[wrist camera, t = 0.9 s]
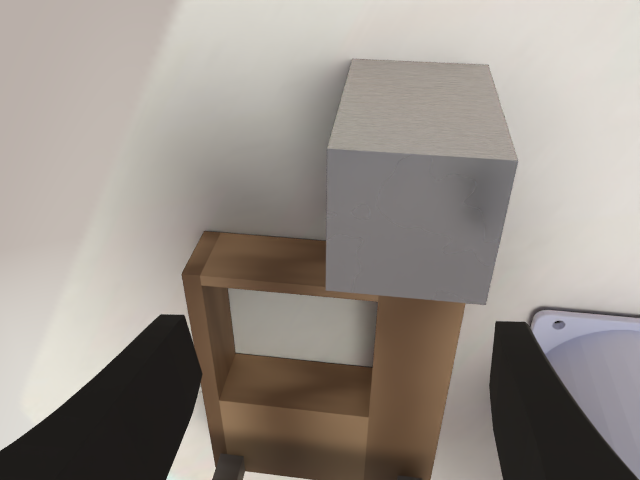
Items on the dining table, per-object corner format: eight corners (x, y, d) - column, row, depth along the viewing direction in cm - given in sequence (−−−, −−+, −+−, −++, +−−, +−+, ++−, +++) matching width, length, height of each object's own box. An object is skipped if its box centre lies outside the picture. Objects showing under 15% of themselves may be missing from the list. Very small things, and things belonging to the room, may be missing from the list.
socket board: (460, 252, 24) (474, 377, 18) (426, 443, 31) (429, 572, 26) (204, 231, 25) (144, 343, 20) (230, 420, 33) (192, 539, 27)
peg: (488, 64, 19) (518, 160, 14) (467, 183, 22) (485, 305, 16) (352, 58, 20) (326, 148, 14) (348, 175, 23) (325, 290, 17)
